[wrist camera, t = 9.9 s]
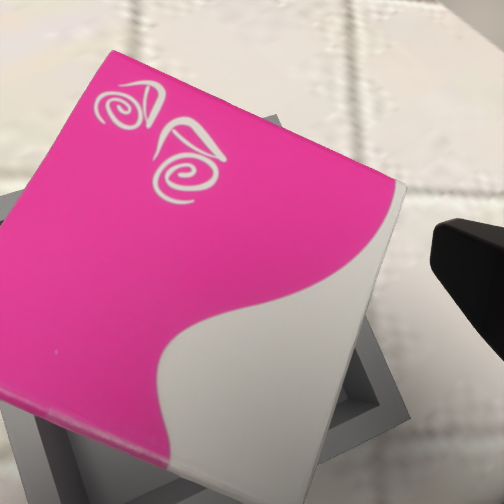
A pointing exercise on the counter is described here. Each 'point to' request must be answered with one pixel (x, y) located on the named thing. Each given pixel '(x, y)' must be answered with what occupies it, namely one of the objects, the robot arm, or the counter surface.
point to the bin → (162, 481)
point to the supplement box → (190, 283)
